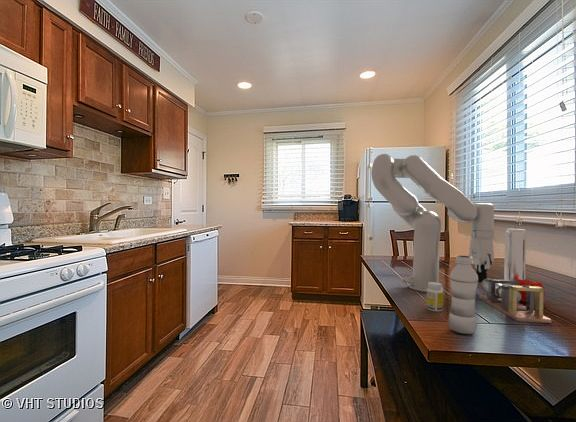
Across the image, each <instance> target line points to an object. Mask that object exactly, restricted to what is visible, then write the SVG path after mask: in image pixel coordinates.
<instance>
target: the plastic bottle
mask: <svg viewBox="0 0 576 422" xmlns="http://www.w3.org/2000/svg"><path fill="white" fill-rule="evenodd" d="M472 265H474V264H473V262H472V257H471V256H469V255H462V254H461V255H456V256H455V266H454V267H453V268H452V269H451V271H450V274H449V280H450V289H451V292H450V293H451V301H450V303H451V304H450V308H449V310H450V311H449V315H448V326H449V328H450V329H451V330H452V331H453V332H455V333H458V334H464V335H472V334H474V333H475V332H476V331H477V328H478V321H477V320H478V319H477V316H476V314H477V313H476V294H477V293H476V292H477V288H478V283H479V282H478V275H477V273H476V270H475V269H474V268H473V266H472Z"/></svg>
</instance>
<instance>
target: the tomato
mask: <svg viewBox="0 0 576 422" xmlns="http://www.w3.org/2000/svg"><path fill="white" fill-rule="evenodd" d="M516 281H518V286H523V285H525V286H539V287H541V288H544V285H543V284H542V283H541V282H540V281H532V280H530V279H526V278H525V279H524V280H521V279H517V280H516ZM544 289H545V288H544ZM518 292H519V293H520V294H521V300H520V301H519V302H522V303H526V291H518ZM545 292H546V291H545V290H544V294H543V300H544V299H545V296H546V293H545ZM534 304H535V291H534Z"/></svg>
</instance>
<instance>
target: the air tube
mask: <svg viewBox="0 0 576 422" xmlns="http://www.w3.org/2000/svg"><path fill="white" fill-rule="evenodd" d="M489 279H490V278H489V277H488V278H486V279H484V280H483V281H482V282H480V283H481V287H482V289H483V290H485V291H487V292H488V289H489ZM502 285H504V284H502V283H495V295H496V296H498V297H500V298H502ZM520 300H521V294H520V293H519V292H518V291H517V303H520V302H521V301H520Z"/></svg>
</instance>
